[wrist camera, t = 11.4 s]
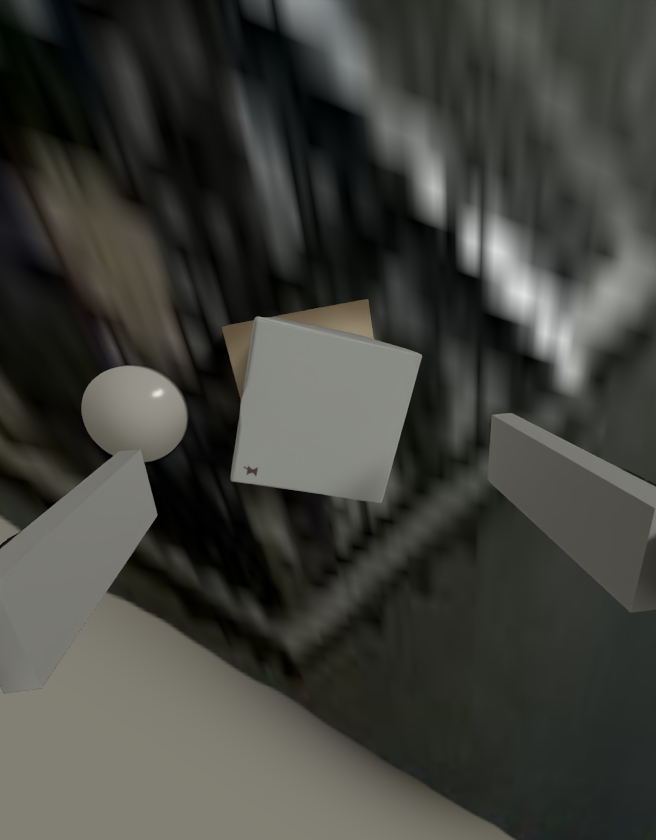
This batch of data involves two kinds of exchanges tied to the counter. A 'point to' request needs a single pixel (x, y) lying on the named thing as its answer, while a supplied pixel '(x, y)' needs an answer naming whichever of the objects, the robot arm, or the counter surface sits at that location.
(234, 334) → the maple block
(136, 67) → the counter surface
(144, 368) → the cream smooth round part
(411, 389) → the supplement box
